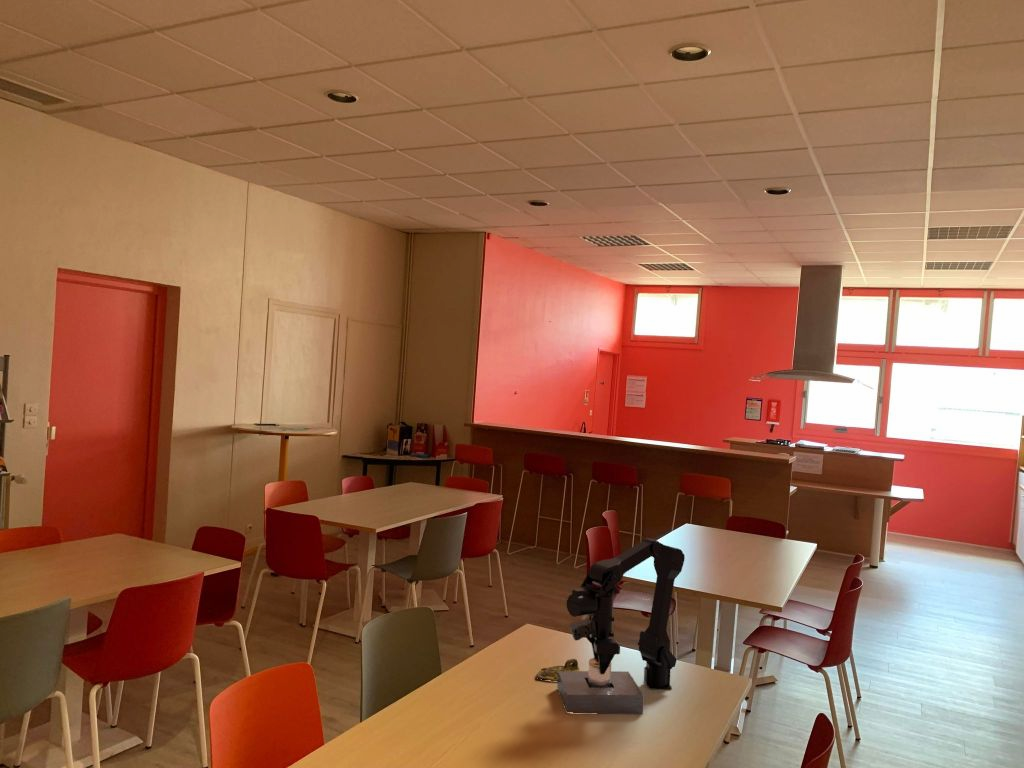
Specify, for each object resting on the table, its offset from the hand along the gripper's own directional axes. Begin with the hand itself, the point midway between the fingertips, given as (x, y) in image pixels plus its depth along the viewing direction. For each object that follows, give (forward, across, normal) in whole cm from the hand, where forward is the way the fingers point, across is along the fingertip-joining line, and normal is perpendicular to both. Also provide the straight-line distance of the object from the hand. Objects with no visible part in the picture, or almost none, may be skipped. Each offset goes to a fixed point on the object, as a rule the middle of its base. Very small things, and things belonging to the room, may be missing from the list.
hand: (599, 669), depth 202 cm
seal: (+9, -18, -8) cm, 22 cm away
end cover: (+6, 0, 0) cm, 6 cm away
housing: (+9, 0, 0) cm, 9 cm away
